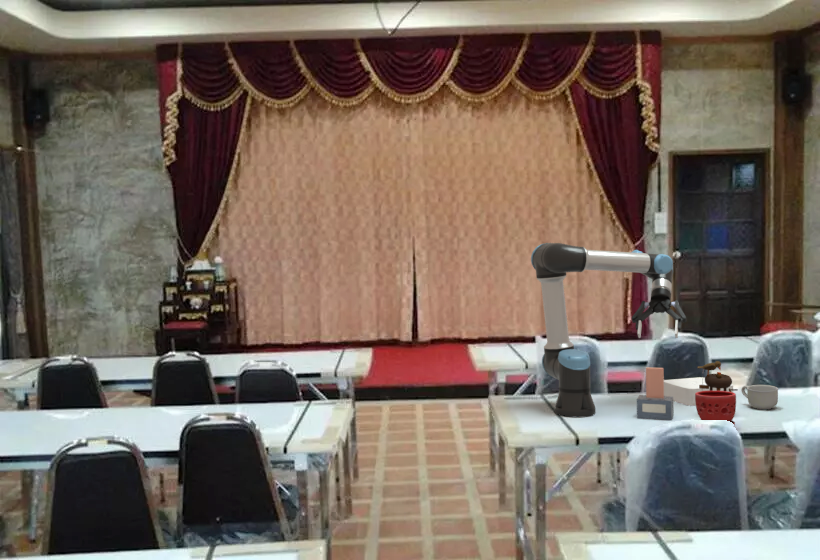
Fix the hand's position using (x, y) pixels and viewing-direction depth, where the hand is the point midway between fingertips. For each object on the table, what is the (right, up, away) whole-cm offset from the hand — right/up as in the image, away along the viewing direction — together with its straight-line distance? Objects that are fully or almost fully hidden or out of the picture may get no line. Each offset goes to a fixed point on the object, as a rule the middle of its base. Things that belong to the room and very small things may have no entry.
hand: (657, 335), depth 296 cm
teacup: (+39, -27, +1) cm, 48 cm away
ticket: (-4, -27, -10) cm, 29 cm away
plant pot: (+11, -30, -28) cm, 42 cm away
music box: (+20, -28, -9) cm, 36 cm away
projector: (+22, -27, +19) cm, 40 cm away
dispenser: (-4, -29, -10) cm, 31 cm away
